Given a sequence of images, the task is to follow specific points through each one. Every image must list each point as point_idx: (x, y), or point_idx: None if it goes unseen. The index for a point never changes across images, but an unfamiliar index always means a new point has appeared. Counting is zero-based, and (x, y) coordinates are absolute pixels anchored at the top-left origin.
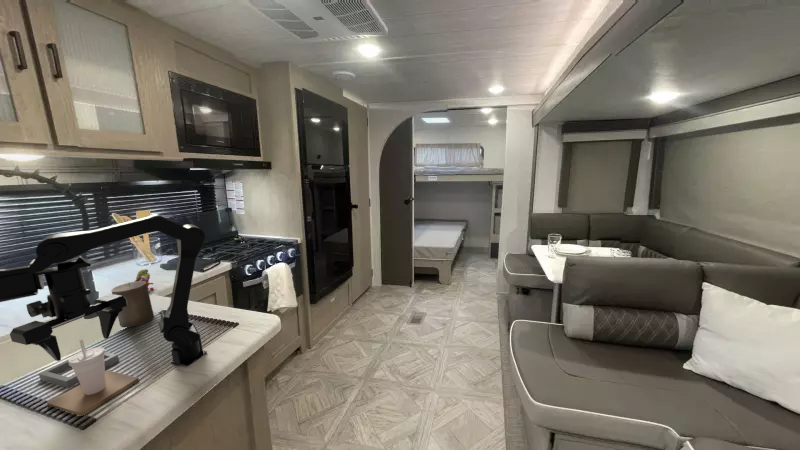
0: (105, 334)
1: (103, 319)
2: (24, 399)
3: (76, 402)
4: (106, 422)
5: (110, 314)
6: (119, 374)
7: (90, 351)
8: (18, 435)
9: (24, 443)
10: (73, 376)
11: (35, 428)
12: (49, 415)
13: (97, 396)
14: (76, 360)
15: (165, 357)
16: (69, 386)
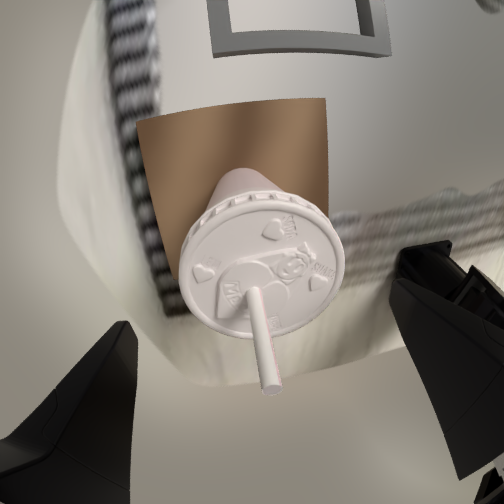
0: (404, 323)
1: (477, 401)
2: (125, 3)
3: (183, 214)
4: (200, 333)
5: (459, 474)
6: (322, 179)
7: (292, 271)
8: (73, 203)
9: (81, 250)
10: (241, 41)
11: (99, 211)
12: (129, 179)
13: None
14: (209, 292)
15: (421, 203)
16: (218, 56)
